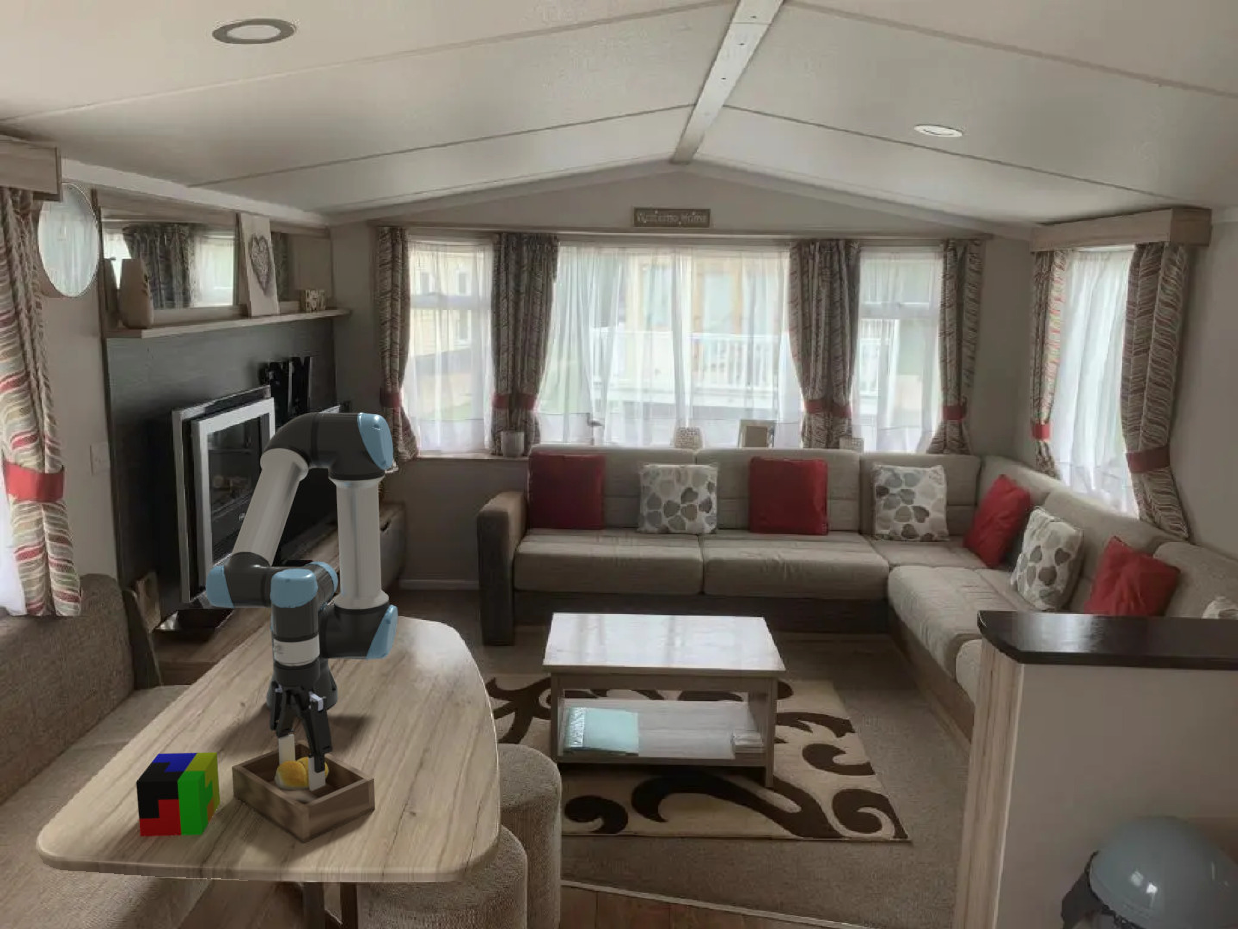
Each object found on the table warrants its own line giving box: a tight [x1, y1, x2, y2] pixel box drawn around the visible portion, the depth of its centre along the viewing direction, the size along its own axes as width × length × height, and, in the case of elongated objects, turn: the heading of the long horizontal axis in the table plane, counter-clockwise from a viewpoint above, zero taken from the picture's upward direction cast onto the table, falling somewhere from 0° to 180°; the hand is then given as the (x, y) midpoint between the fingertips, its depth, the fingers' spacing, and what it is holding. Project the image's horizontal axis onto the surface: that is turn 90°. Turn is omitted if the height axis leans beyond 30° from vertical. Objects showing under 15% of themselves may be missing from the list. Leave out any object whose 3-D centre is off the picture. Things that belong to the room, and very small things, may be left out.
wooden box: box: [231, 739, 376, 844], centre depth 177 cm, size 22×14×6 cm, turn 50°
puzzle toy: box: [135, 751, 221, 837], centre depth 171 cm, size 10×10×10 cm
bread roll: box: [275, 757, 328, 791], centre depth 177 cm, size 8×9×4 cm
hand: (302, 778), depth 177 cm, fingers closed on bread roll, 9 cm apart
